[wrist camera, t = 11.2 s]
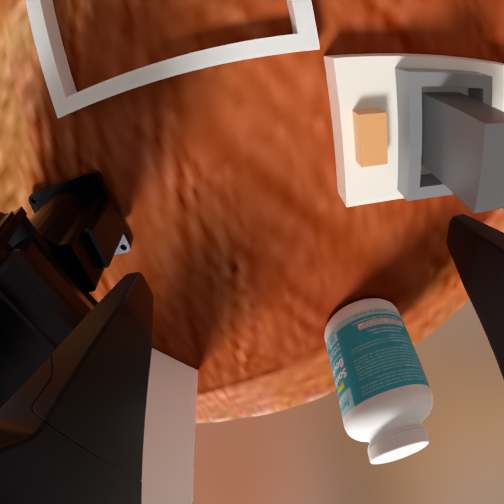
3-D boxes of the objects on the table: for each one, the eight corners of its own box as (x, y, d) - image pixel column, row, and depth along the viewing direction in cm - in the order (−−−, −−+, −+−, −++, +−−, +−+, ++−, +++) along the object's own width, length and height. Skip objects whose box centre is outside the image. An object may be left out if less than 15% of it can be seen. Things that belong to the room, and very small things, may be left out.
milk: (124, 366, 32) (96, 557, 15) (151, 345, 30) (124, 569, 12) (169, 388, 35) (156, 566, 17) (200, 370, 33) (193, 575, 15)
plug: (419, 162, 17) (474, 213, 13) (419, 92, 15) (484, 123, 10) (457, 158, 17) (513, 205, 12) (459, 92, 14) (526, 123, 10)
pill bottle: (311, 314, 28) (341, 462, 17) (389, 281, 26) (449, 422, 15) (335, 354, 32) (362, 474, 21) (401, 327, 30) (444, 444, 19)
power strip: (337, 192, 21) (353, 220, 18) (323, 56, 15) (342, 60, 13) (542, 167, 19) (566, 186, 16) (551, 73, 14) (580, 85, 11)
